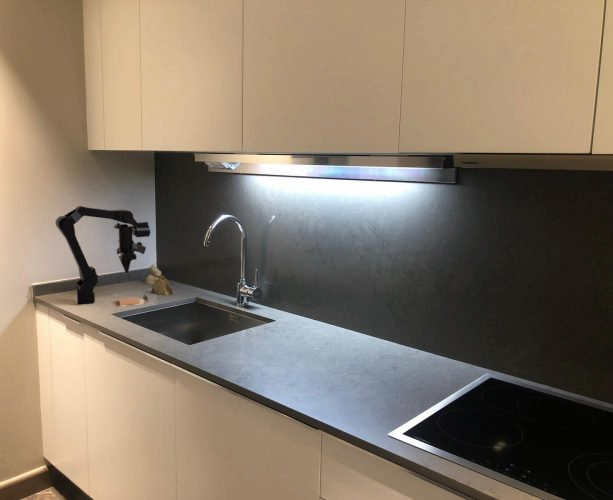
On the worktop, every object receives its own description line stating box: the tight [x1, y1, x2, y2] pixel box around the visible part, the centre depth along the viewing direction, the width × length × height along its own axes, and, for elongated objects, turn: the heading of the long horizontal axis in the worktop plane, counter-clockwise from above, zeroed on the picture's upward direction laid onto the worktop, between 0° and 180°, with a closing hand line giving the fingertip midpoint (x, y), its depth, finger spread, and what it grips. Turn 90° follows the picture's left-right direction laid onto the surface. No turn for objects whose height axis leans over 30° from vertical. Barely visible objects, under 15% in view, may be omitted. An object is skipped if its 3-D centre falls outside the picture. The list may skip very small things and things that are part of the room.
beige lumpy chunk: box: [144, 264, 163, 285], centre depth 279 cm, size 6×8×10 cm
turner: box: [143, 294, 153, 305], centre depth 244 cm, size 3×11×1 cm, turn 25°
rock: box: [151, 275, 175, 296], centre depth 258 cm, size 11×9×10 cm
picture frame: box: [117, 296, 140, 305], centre depth 239 cm, size 8×2×7 cm
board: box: [111, 297, 153, 308], centre depth 241 cm, size 16×10×1 cm, turn 115°
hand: (126, 272), depth 247 cm, fingers closed
